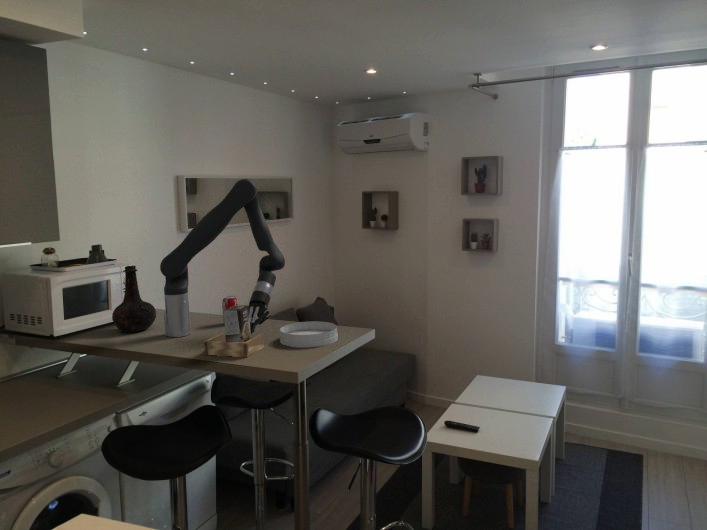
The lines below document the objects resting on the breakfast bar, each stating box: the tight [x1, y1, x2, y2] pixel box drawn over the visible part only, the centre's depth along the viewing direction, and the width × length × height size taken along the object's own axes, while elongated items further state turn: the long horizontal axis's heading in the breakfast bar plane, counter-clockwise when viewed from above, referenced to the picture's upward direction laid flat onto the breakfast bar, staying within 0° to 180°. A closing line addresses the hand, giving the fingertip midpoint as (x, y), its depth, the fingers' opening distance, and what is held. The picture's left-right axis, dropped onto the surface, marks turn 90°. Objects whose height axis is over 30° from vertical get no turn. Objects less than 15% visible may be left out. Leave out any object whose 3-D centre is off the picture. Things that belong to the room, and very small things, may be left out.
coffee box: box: [224, 304, 252, 342], centre depth 199 cm, size 9×6×16 cm
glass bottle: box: [111, 265, 157, 333], centre depth 239 cm, size 18×18×28 cm
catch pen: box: [203, 332, 265, 358], centre depth 200 cm, size 16×13×5 cm
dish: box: [279, 320, 339, 348], centre depth 213 cm, size 22×22×5 cm
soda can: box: [221, 295, 240, 324], centre depth 246 cm, size 7×7×12 cm
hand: (249, 332), depth 211 cm, fingers closed
